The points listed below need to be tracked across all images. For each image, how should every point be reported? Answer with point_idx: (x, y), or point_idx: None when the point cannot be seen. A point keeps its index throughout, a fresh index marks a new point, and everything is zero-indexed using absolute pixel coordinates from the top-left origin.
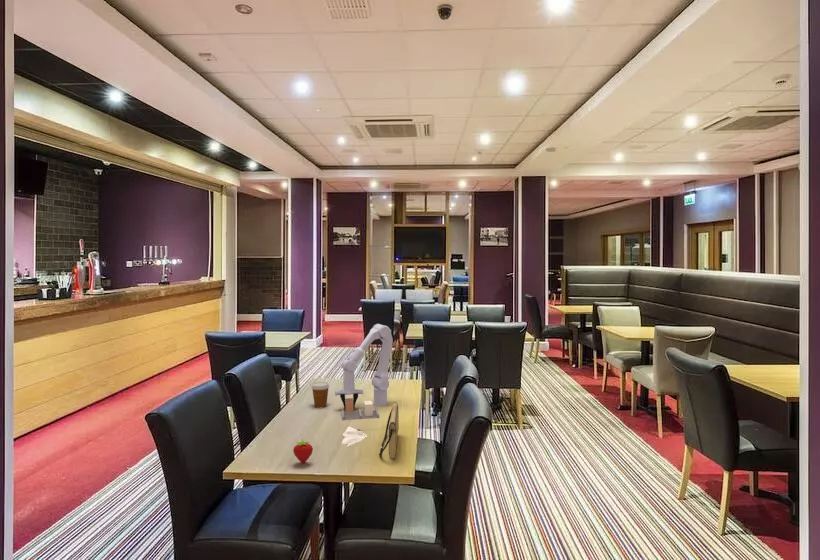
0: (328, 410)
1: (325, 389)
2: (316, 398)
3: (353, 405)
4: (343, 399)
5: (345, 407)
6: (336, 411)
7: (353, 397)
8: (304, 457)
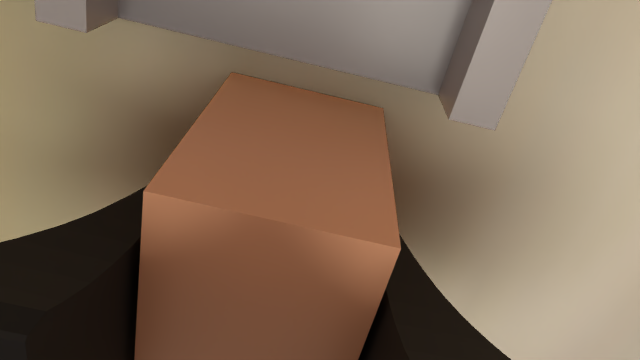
0: (580, 348)
1: None
2: None
3: None
4: (458, 352)
5: None
6: (491, 265)
7: (81, 342)
8: None
